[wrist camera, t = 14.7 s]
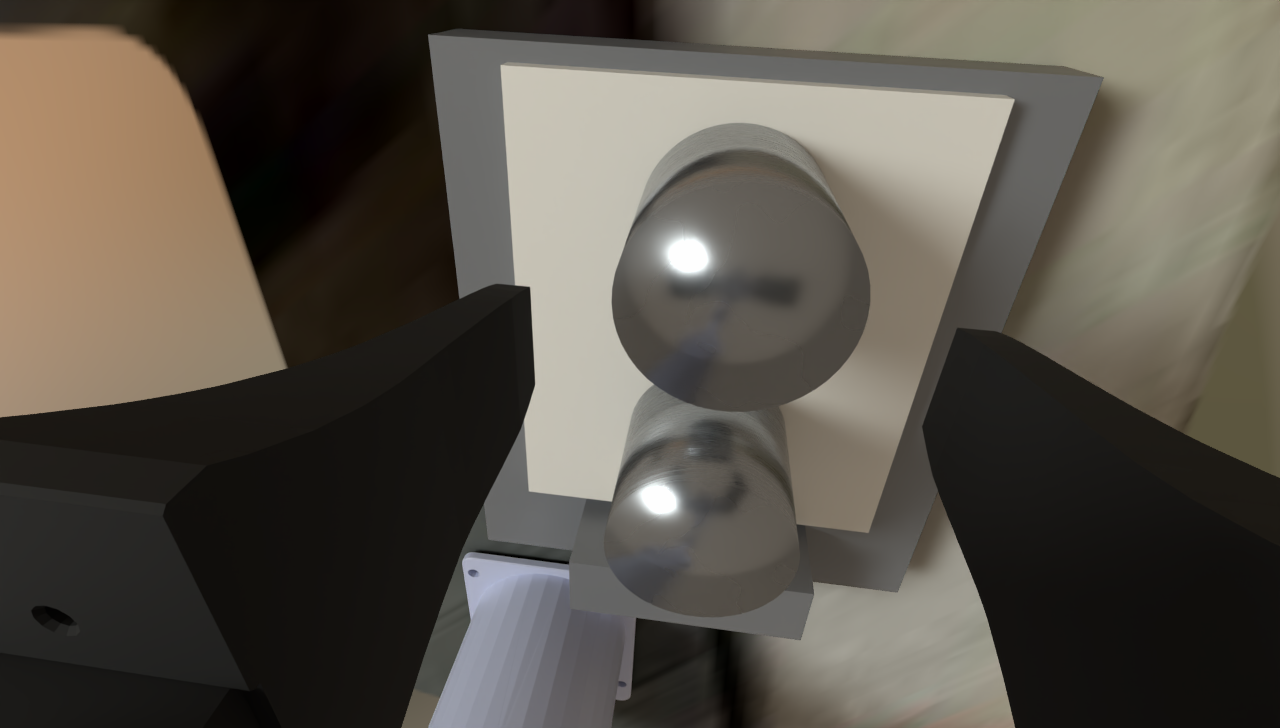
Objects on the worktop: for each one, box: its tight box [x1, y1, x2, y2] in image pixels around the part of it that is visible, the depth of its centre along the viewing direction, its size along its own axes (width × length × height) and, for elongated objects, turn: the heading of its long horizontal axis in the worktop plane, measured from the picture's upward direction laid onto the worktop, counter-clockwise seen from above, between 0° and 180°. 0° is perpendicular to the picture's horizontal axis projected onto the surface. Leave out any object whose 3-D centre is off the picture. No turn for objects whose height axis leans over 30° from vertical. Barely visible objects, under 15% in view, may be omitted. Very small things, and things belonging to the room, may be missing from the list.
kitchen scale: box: [428, 29, 1104, 640], centre depth 19 cm, size 18×16×6 cm
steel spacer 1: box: [611, 123, 870, 412], centre depth 14 cm, size 5×5×5 cm
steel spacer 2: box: [604, 385, 800, 617], centre depth 18 cm, size 5×5×5 cm
